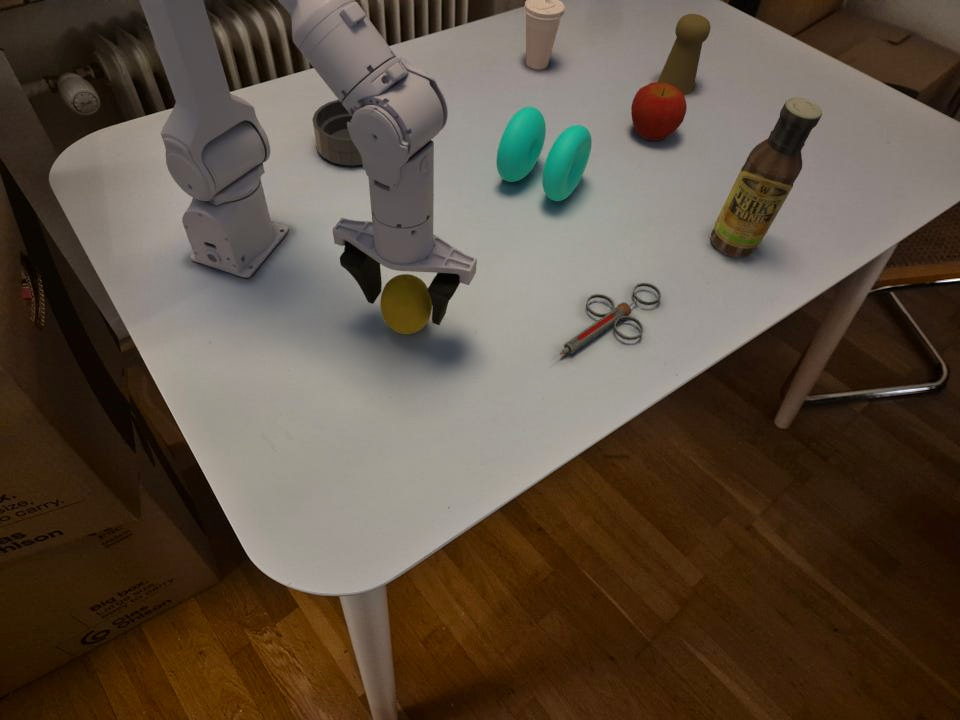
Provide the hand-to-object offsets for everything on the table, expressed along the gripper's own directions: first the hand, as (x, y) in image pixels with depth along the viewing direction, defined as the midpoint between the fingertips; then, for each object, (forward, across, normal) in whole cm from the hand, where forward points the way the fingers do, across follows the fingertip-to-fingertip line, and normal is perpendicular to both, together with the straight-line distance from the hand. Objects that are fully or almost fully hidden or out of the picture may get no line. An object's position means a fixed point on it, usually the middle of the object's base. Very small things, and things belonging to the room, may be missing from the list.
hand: (406, 307), depth 72 cm
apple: (+4, -18, -50) cm, 53 cm away
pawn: (+4, -19, -66) cm, 69 cm away
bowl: (+4, +21, -28) cm, 35 cm away
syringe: (+4, -21, -9) cm, 23 cm away
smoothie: (+4, +4, -62) cm, 62 cm away
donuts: (+4, -6, -31) cm, 32 cm away
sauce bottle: (+4, -33, -30) cm, 45 cm away
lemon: (+4, 0, 0) cm, 4 cm away
